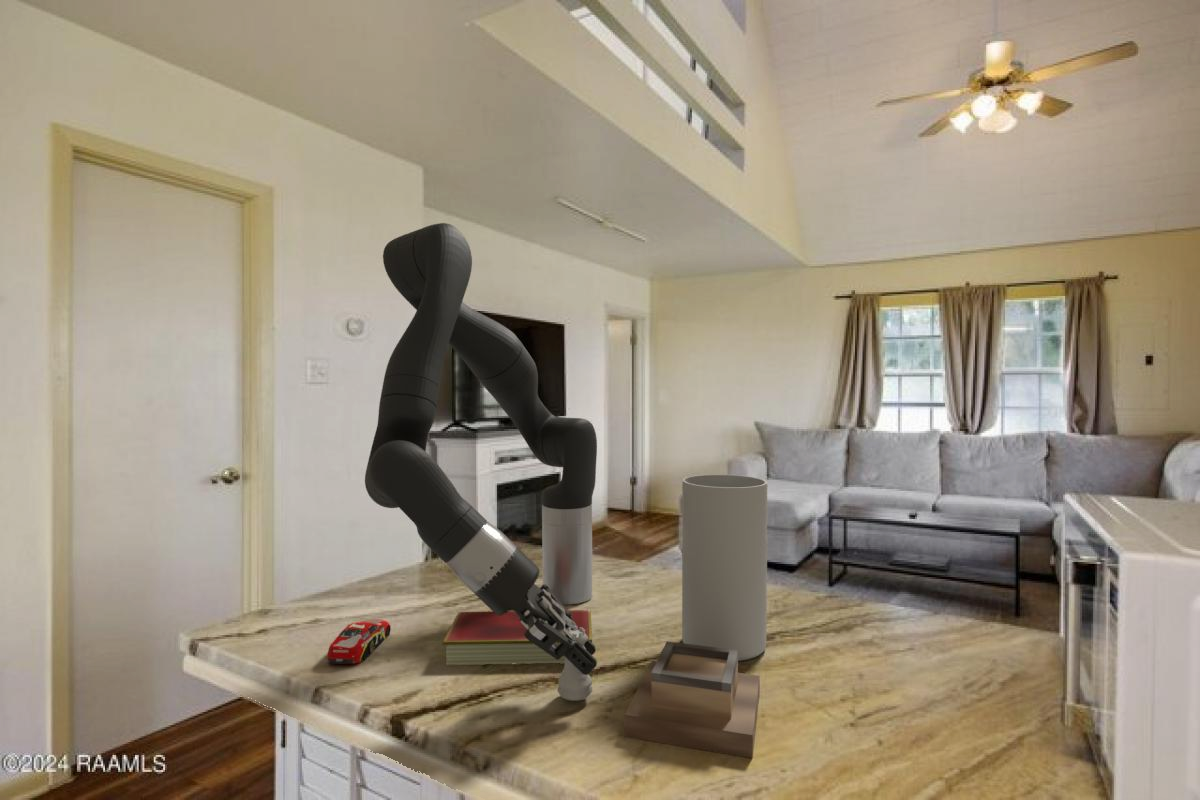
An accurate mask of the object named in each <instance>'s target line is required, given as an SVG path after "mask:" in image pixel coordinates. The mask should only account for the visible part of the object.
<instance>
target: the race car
mask: <svg viewBox="0 0 1200 800" xmlns="http://www.w3.org/2000/svg"><path fill="white" fill-rule="evenodd" d="M391 630H392V629H391V624H390V622H388V621H387V620H384V619H375V618H374V619H366V620H363V621H359V622H358V621H357V622H356V621H355V622H352V623H349V624H347V626H345V628H344V629H343V630H342V631H340V633H339V634H338V635H337V637H335V639H334V640H332V641H333V642H331V644H330V645H329V648H328V652H327V663H329V664H338V665H339V664H341V665H342V664H343V665H345V664H347V665H351V664H358V663H361V662H364V661H366V659H368V658H369V656H370V655H371V654H372V653H374V651H375V650H376V649H377V648H378V647H379V646H380V645H381V644H382V643H383V641H384V640H386V639H387V638H388V637H389V636H390V634H391ZM385 638H386V639H385Z"/></svg>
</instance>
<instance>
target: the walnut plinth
mask: <svg viewBox="0 0 1200 800" xmlns="http://www.w3.org/2000/svg"><path fill="white" fill-rule="evenodd" d="M760 677H761V676H760V675H758V674H751V673H742V672H739V661H738V650H732V649H724V648H716V647H708V646H700V645H692V644H684V642H681V643H680V642H674V641H667V640H666V642H665V644H664V646H663V648H662V650H661V652H660V654H659V656H658V658H657V660H656V661H651V662H650V665H649V666H648V668H647V670H646V672H645V674H644V676H643V677H642V680H641V682H640V684H639V686H638V688H637V690H636V692H635V694H634V696H633V697H632V699H631V702H630V704H629V706H628V707H627V710H626V712H625V714H624V737H626V738H627V737H628V738H633V739H638V740H644V741H650V742H655V743H662V744H667V745H671V746H672V745H673V746H677V747H678V746H680V747H684V748H690V749H696V750H701V751H702V750H703V751H707V752H713V753H721V754H725V755H731V756H738V757H742V758H747V759H753V757H754V749H755V741H756V740H755V739H756V729H757V721H758V711H759V704H760V693H761V691H760V681H761V680H760V679H761V678H760Z"/></svg>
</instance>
